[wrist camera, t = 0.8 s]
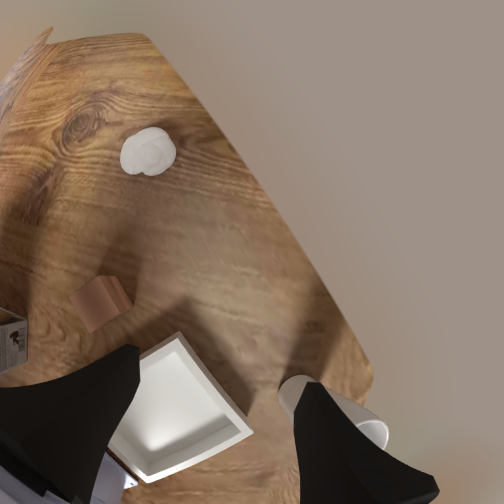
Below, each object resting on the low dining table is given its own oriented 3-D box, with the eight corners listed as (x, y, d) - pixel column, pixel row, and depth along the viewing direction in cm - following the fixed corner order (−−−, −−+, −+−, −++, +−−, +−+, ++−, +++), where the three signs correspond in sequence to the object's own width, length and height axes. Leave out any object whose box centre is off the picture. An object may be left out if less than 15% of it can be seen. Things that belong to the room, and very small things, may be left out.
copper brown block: (107, 323, 27) (89, 333, 21) (90, 293, 27) (68, 296, 21) (133, 306, 28) (119, 312, 22) (115, 276, 28) (98, 275, 22)
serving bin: (150, 466, 26) (147, 483, 22) (81, 389, 25) (69, 401, 21) (247, 417, 29) (253, 432, 25) (179, 330, 29) (177, 337, 25)
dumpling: (174, 138, 31) (173, 121, 27) (179, 175, 30) (177, 161, 26) (121, 148, 29) (113, 133, 25) (122, 185, 29) (114, 174, 25)
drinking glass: (272, 369, 30) (329, 428, 16) (323, 365, 32) (397, 409, 17) (269, 416, 30) (315, 487, 15) (317, 410, 31) (380, 467, 16)
